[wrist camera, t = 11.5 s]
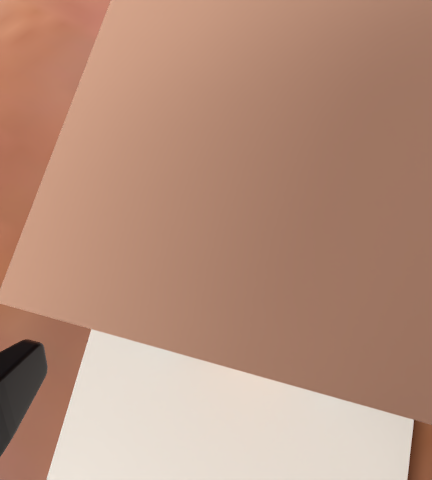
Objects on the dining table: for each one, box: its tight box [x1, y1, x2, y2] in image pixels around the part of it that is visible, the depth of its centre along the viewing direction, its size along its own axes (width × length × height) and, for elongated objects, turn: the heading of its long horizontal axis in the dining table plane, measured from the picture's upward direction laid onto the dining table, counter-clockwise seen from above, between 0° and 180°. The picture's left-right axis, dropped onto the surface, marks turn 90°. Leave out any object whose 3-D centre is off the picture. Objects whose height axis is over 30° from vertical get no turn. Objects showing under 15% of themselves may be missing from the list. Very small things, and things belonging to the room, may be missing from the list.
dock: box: [47, 329, 414, 480], centre depth 14 cm, size 20×13×4 cm, turn 167°
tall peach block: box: [0, 0, 432, 425], centre depth 10 cm, size 5×4×13 cm
